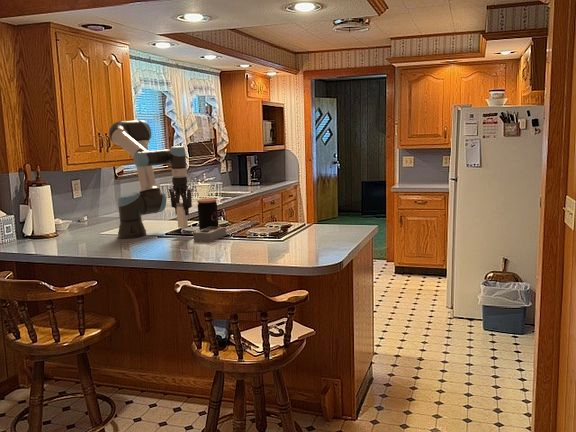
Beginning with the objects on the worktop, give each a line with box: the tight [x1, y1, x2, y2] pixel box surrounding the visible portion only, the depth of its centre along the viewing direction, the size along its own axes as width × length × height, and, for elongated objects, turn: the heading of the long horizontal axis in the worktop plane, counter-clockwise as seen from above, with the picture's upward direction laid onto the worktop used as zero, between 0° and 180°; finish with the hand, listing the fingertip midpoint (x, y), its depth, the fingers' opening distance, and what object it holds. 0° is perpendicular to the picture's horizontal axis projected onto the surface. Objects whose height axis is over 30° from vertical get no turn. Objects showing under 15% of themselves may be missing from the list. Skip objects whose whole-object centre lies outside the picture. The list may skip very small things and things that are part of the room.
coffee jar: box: [196, 198, 220, 230], centre depth 309 cm, size 11×11×18 cm
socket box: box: [192, 226, 227, 243], centre depth 291 cm, size 10×16×5 cm, turn 156°
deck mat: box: [171, 235, 194, 242], centre depth 293 cm, size 10×10×1 cm
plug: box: [176, 201, 189, 229], centre depth 291 cm, size 4×4×13 cm
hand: (182, 220), depth 292 cm, fingers closed on plug, 4 cm apart
